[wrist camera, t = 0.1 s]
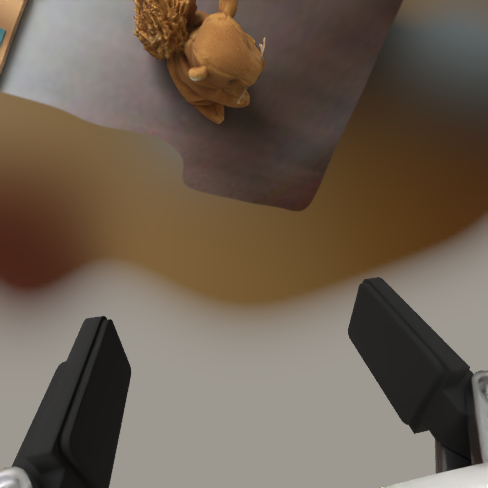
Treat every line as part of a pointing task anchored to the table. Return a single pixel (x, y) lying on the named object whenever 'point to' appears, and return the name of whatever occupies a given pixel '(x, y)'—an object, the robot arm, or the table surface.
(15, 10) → the desk mat
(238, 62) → the stuffed squirrel
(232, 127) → the table surface
